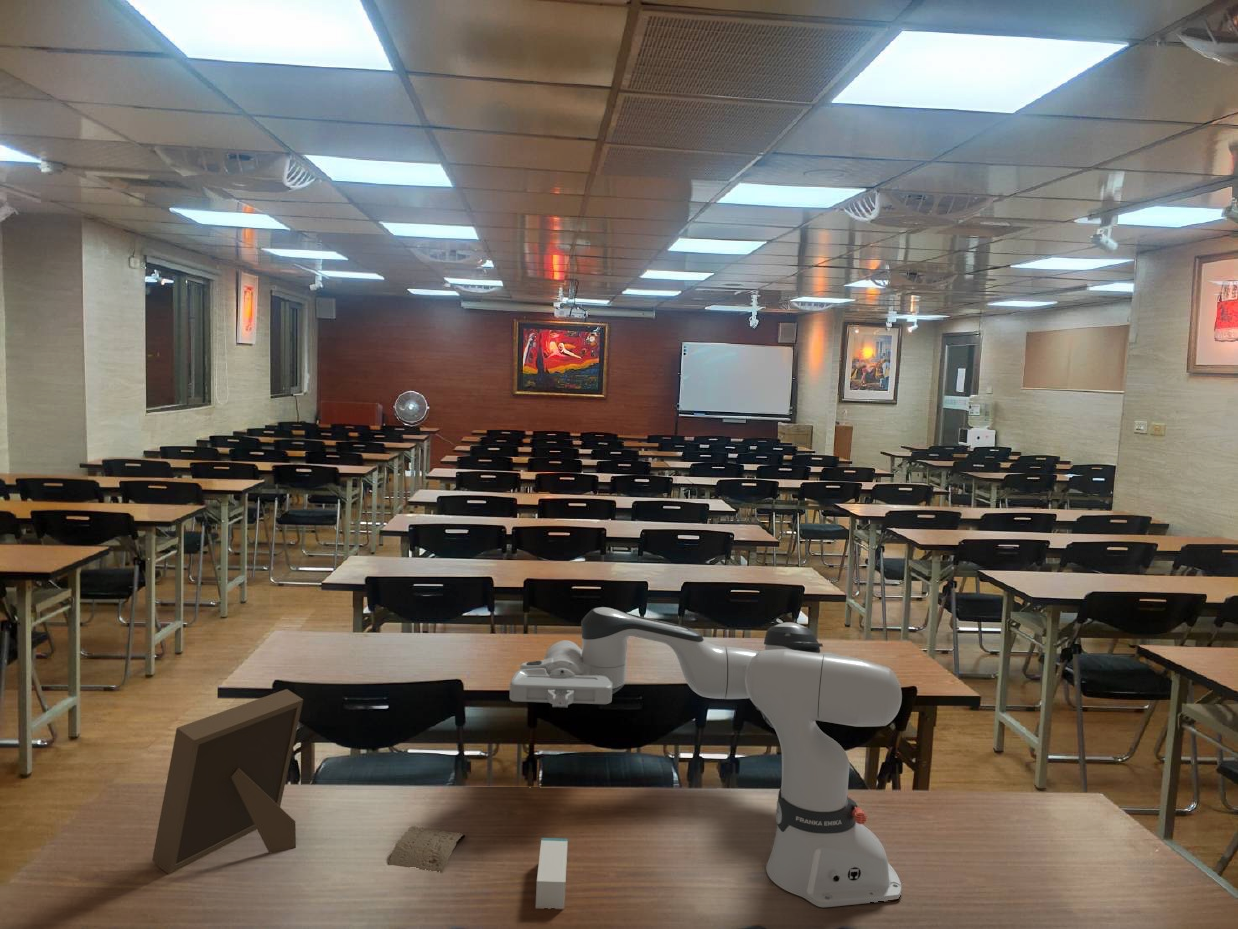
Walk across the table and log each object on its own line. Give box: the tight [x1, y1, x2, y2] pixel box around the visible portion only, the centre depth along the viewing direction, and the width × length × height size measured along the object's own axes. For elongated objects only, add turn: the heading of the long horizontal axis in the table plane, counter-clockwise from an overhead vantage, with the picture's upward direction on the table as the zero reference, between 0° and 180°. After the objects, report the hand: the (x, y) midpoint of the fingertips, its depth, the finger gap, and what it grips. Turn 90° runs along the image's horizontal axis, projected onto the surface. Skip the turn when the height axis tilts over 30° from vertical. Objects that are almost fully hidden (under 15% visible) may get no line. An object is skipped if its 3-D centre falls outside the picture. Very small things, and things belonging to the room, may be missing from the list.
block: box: [535, 837, 569, 910], centre depth 142 cm, size 4×4×13 cm
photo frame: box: [151, 688, 304, 875], centre depth 147 cm, size 15×22×25 cm
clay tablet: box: [388, 825, 464, 874], centre depth 151 cm, size 15×10×3 cm
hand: (560, 703), depth 164 cm, fingers closed
